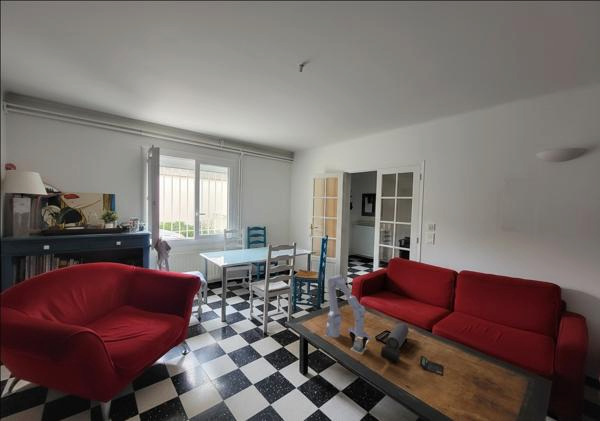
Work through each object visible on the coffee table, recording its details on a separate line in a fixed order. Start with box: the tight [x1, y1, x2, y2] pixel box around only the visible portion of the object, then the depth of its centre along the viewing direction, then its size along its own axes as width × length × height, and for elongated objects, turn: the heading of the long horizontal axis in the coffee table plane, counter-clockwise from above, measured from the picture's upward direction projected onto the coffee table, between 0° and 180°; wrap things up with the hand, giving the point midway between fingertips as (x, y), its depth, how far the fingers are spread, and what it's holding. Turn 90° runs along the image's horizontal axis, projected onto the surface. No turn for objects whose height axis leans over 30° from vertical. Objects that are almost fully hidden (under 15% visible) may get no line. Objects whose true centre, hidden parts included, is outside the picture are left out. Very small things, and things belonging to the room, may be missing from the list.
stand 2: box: [349, 345, 368, 355], centre depth 158 cm, size 8×8×2 cm
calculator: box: [419, 354, 444, 376], centre depth 144 cm, size 9×12×3 cm
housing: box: [353, 337, 363, 352], centre depth 158 cm, size 4×6×5 cm
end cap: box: [380, 344, 401, 364], centre depth 150 cm, size 10×7×7 cm
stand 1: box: [355, 336, 369, 345], centre depth 166 cm, size 8×8×2 cm
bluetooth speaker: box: [386, 322, 409, 350], centre depth 167 cm, size 23×9×10 cm, turn 143°
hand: (358, 345), depth 158 cm, fingers open, 6 cm apart
